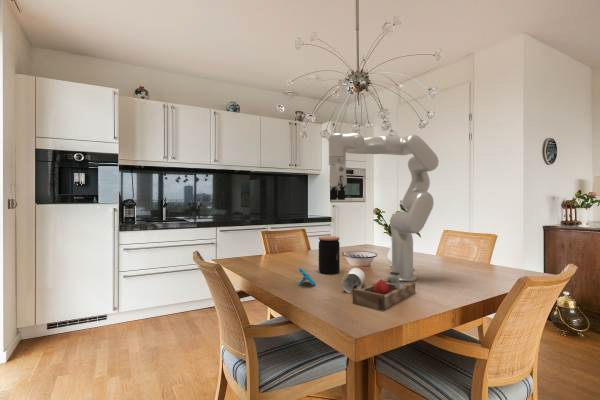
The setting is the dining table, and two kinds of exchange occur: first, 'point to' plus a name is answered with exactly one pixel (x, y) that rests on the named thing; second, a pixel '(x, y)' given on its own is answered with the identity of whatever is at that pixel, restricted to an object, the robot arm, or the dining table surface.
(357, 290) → the guide
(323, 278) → the dining table surface
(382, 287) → the pomegranate
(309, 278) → the gear
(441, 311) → the dining table surface
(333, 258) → the coffee jar
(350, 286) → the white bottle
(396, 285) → the grey angular piece
